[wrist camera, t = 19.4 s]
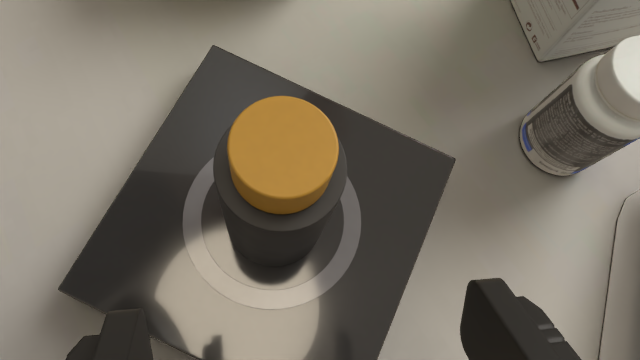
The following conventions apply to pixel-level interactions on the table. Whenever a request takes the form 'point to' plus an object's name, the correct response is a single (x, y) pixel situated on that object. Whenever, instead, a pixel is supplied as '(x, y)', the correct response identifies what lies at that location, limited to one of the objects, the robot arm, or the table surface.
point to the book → (624, 288)
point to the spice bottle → (279, 179)
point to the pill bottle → (587, 113)
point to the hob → (236, 270)
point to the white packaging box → (576, 25)
